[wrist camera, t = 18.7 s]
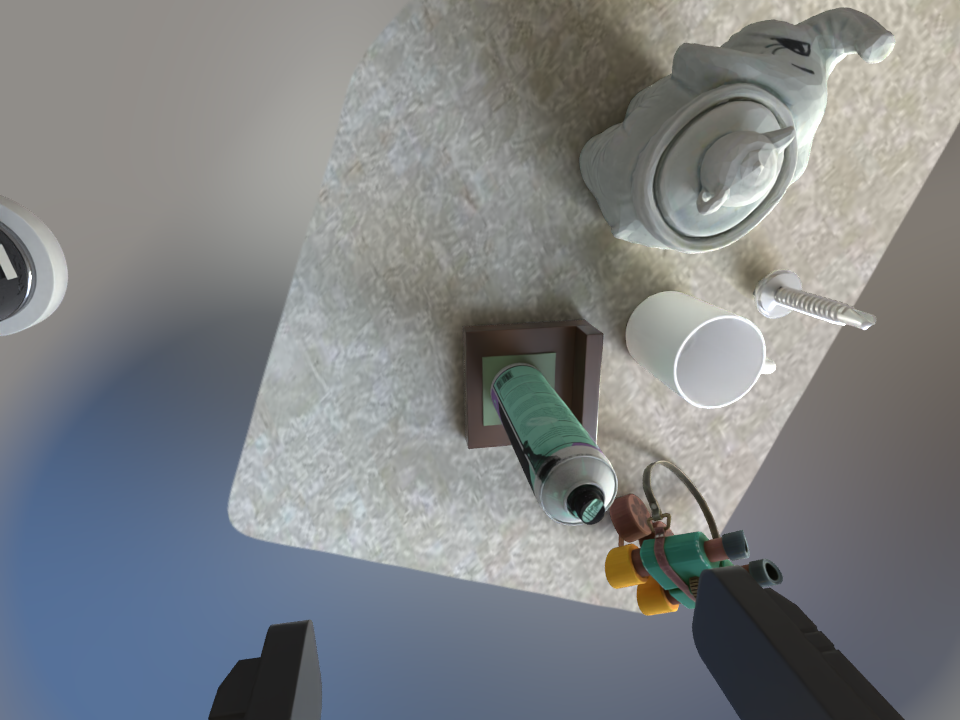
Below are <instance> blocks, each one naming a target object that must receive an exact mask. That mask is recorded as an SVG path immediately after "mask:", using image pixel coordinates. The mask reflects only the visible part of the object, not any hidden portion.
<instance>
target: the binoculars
mask: <svg viewBox="0 0 960 720" xmlns="http://www.w3.org/2000/svg"><path fill="white" fill-rule="evenodd" d="M656 464H662V465H664V466H666V467H667V468H669V469H670V470H671V471H672V472H674V473H675V474H676V475H677V476H678V477H679V478H680V479H681V480H682V481H683V482H684V484H685V485H686V486H687V487H688V489H689V490H690V491H691V493H692V494H693V495H694V497H695V499H696V500H697V502H698V503H699V505H700V507H701V509H702V511H703V513H704V516H705V518H706V520H707V523H708V525H709V528H710V531H711V535H712V538H713V539H712V540H709V539H708V538H707V537H706V536H705V535H704V534H703V533H702V532H693V533H686V534H680V535H674V534H673V533H672V531H671V530H670V523H671V516H670V514H668V513H665V514H662V512H661V509H660V507H659V505H658V502H657V500H656V498H655V496H654V493H653V491H652V488H651V471H652V468H653V467H654V466H655V465H656ZM643 489H644V492H645V495H646V497H647V500H648V502H649V506H650V508H651V510H652V517H651V516H650V514H649V511H648V510H647V508H646V506H645V505H644V503H643V502H642V501H641V500H640V499H639V498H638V497H637V496H635V495H633V494H628V495H625V496H622V497H619V498H616V499H614V501H613V503H612V504H611V506H610V507H609V510H610V517H611V520H612V523H613V525H614V527H615V529H616V531H617V533H618V534H619V544H618V545H619V547H616V548H613V549H612V550H610V552H609V553H608V555H607V557H606V562H605V573H606V577H607V580H608V582H609V584H610V585H611V586H612V587H613V588H616V589H618V588H623V587H628V586H634V585H638V587H637V602H638V606H639V608H640V610H641V612H642V613H643V614H645V615H655V614H661V613H667V612H674V611H677V609H678V606H679V604H683V605H684V606H686V607H687V608H689V609H692V608H695V603H696V597H697V590H698V583H699V577H700V574H701V572H702V571H703V570H705V569H711V568H719V567H727V566H734V565H733V564H732V563H731V562H730V561H729V560H728V559H730V560H738V559H743V558H748V557H749V547H748V544H747V541H746V538H745V536H744V532H743V530H740V531H736V532H732V533H728V534H724V535H723V536H722V537H720V535H719V532H718V529H717V526H716V523H715V520H714V518H713V516H712V513H711V511H710V509H709V507H708V505H707V503H706V501H705V500H704V498H703V496H702V495H701V493H700V492H699V490H698V489H697V488H696V486H695V485H694V484H693V482H692V481H691V480H690V479H689V478H688V477H687V476H686V475H685V474H684V473H683V472H682V471H681V470H680V469H679V468H678V467H676V466H675V465H674V464H672V463H670V462H668V461H657V462H654V463H651V464H650V465H649V466H647V468H646V469H645V470H644V474H643ZM664 517H667V525H666V524H664V523H663V522H661V521H658V520H662V519H663V518H664ZM652 520H654V521H657V522H654V523H652ZM638 539H639V544H640V547H641V548H638V547H637V546H636V545H634V544H628V545H624V540H625V541H626V542H630V543H631V542H633V541H636V540H638ZM741 567H743V568H744V569H745V570H747V571H748V573H749V574H750V575H751V576H752V577H753V578H754V579H755V580H756V581H757V583H758V584H759V585H760V586H761V587H766V586H772V585H778V584H781V583H782V581H783V577H782V573H781V572H780V570H779V569H778V567H777V566H776V565H775V564H774V563H773V562H771V561H770V560H768V559H762V560H756V561H752V562H749V564H748V565H743V566H741Z"/></svg>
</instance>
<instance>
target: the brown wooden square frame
mask: <svg viewBox="0 0 960 720" xmlns="http://www.w3.org/2000/svg"><path fill="white" fill-rule="evenodd" d="M602 349H603V333H602V332H600V331H599V330H598V329H596V328H595V327H594V326H592V325H591V324H590V323H588V322H587V321H586V320H567V321H549V322H532V323H514V324H496V325H479V326H463V351H464V391H465V431H466V442H467V446H468V449H474V448H485V447H496V446H507V445H512V444H511V442H510V440H509V438H508V435H507V433H506V431H505V429H504V427H503V425H502V422H501V420H500V418H499V416H498V414H497V411H496V409H495V407H494V405H493V402H492V399H491V395H490V388H491V384H492V381H493V379H494V377H495V376H496V374H497V373H498V372H499V371H500V370H501V369H503V368H504V367H506V366H508V365H511V364H514V363H526V364H530V365H532V366H534V367H536V368H537V369H538V370H539V371H540V372H541V373H542V374H543V375H544V377H545V378H546V379H547V381H548V382H549V383H550V385H551V386H552V387H553V388H554V390H555V391H556V392H557V394H558V395H559V396H560V398H561V399H562V400H563V401H564V403H565V404H566V405H567V407H568V408H569V409H570V411H571V412H572V413H573V414H574V416H575V417H576V418H577V420H578V421H579V422H580V424H581V425H582V426H583V428H584V429H585V430H586V431H587V433H588V434H589V435H590V437H591V438H592V439H593V441H594V442H595V443H596V440H597V425H598V410H599V394H600V379H601V364H602Z"/></svg>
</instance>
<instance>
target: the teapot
mask: <svg viewBox="0 0 960 720" xmlns="http://www.w3.org/2000/svg"><path fill="white" fill-rule="evenodd" d="M895 43H896V42H895V38H894V35H893V34H892V33H891V32H889V31H887V30H886V29H885V28H884V27H883V26H882V25H880V24H879V23H878V22H877V21H876V20H874V19H873V18H871V17H870V16H868V15H866V14H864V13H862V12H860V11H857V10H854V9H851V8H837V9H832V10H828V11H825V12H823V13H820V14H818V15H816V16H813V17H811V18H809V19H807V20H805V21H803V22H801V23H799V24H797V25H793V24H790V23H787V22H783V21H778V20H766V21H760V22H756V23H753V24H750V25H748V26H746V27H744V28H743V29H742V30H741V31H740V32H738V33H736V34H734V35H732V36H731V37H730V39H729V41H727V42H726V43H724V44H723V45H722V46H721V47H713V46H705V45H700V44H695V43H694V44H690V43H683V44H682V45H681V46H680V47H679V48H678V49H677V51H676V53H675V55H674V59H673V66H672V74H670V75H668V76H666V77H664V78H662V79H661V80H659V81H657V82H656V83H655V84H653V85H652V86H650V87H647V88H645V89H643V90H642V91H640V92H638V93H637V94H636V96H635V97H634V98H633V99H632V100H631V101H630V104H629V106H628V109H627V112H626V116H625V119H624V121H623V123H620V124H616V125H613V126H611V127H610V128H608V129H606V130H605V131H604V132H603V133H601V134H598V135H596V136H594V137H593V138H591V139H590V140H589V141H588V142H587V143H586V144H585V146H584V147H583V149H582V151H581V154H580V158H579V165H580V170H581V174H582V178H583V180H584V182H585V184H586V186H587V187H588V189H589V190H590V191H591V192H592V194H593V195H594V196H595V198H596V200H597V202H598V205H599V207H600V209H601V212H602V214H603V216H604V218H605V220H606V221H607V223H608V224H609V225H610V226H611V232H612V234H613V235H614V237H616V238H618V239H623V240H626V241H629V242H631V243H639V244H641V245H644V246H647V247H657V248H661V249H673V250H676V251H680V252H683V253H689V254H693V253H705V252H710V251H714V250H718V249H721V248H724V247H726V246H729V245H730V244H732V243H734V242H735V241H737V240H738V239H740V238H742V237H743V236H744V235H745V234H747V233H748V232H749V231H750V230H752V229H753V228H754V227H755V226H757V225H758V224H759V223H760V222H761V221H762V220H763V219H764V218H765V217H766V216H767V215H768V214H769V213H770V212H771V211H772V210H773V209H774V207H775V206H776V205H777V204H778V202H779V201H780V200H781V198H782V197H783V195H784V193H785V192H786V190H787V188H788V187H789V185H791V184H792V183H793V182H795V181H796V180H798V178H799V177H800V176H801V175H802V174H803V172H804V170H805V169H806V167H807V163H808V160H809V155H810V150H811V145H812V141H813V138H814V135H815V132H816V129H817V127H818V125H819V123H820V121H821V119H822V117H823V115H824V112H825V109H826V104H827V80H828V77H829V75H830V73H831V72H832V70H833V69H834V67H835V65H836V64H837V63H838V62H839V61H841V60H842V59H843V58H844V57H845V56H846V55H847V54H856V53H858V54H859V55H860V57H861V58H862V59H863V60H864V61H866V62H867V63H878V62H880V61H882V60H884V59H885V58H886V57H887V56H888V55H889V54H890V53H891V52H892V50H893V47H894V45H895Z"/></svg>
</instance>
